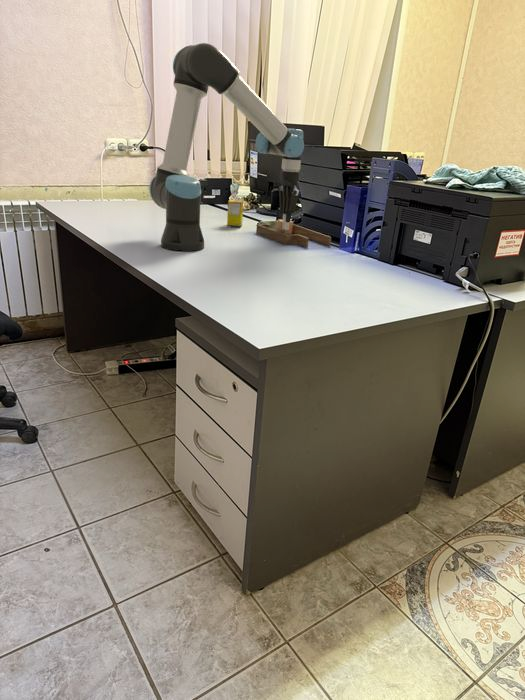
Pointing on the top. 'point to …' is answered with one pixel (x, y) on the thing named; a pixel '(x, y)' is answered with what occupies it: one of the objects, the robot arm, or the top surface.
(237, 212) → the supplement box
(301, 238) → the trap lane
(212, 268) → the top surface
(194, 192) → the robot arm
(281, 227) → the terracotta block
